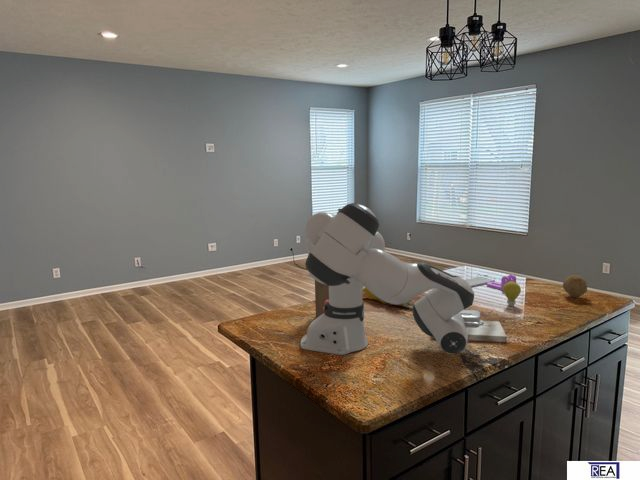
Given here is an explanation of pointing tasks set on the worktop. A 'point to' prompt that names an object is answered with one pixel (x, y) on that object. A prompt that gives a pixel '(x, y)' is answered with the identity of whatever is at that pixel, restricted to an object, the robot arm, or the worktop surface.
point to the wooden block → (320, 297)
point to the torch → (382, 300)
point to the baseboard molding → (478, 281)
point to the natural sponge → (575, 286)
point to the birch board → (487, 332)
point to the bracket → (502, 282)
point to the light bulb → (511, 292)
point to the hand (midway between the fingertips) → (446, 309)
